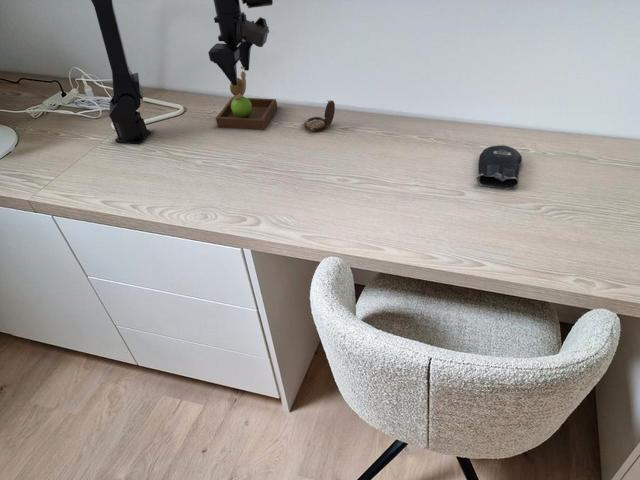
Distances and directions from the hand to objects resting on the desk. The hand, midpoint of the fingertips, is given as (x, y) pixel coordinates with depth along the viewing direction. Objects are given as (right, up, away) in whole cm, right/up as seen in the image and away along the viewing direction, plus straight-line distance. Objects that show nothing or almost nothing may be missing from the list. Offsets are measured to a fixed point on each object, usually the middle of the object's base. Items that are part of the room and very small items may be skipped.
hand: (241, 77), depth 125 cm
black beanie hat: (+62, -27, -14) cm, 69 cm away
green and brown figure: (-1, -8, +7) cm, 10 cm away
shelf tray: (0, -8, +7) cm, 11 cm away
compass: (+19, -12, +2) cm, 23 cm away
